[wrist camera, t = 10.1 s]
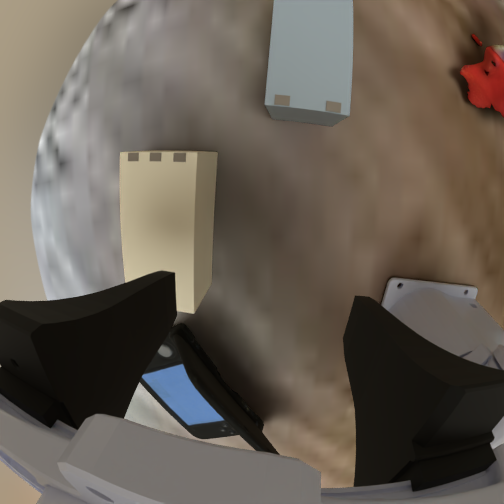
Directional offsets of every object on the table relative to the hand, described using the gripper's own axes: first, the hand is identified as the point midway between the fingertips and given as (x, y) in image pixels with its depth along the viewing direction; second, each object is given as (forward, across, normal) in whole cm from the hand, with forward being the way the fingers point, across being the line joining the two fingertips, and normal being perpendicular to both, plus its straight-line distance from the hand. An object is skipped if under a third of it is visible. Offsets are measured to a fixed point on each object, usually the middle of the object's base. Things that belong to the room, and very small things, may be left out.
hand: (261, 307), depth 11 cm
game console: (+10, +5, +16) cm, 20 cm away
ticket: (+10, +7, 0) cm, 12 cm away
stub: (+10, -1, -12) cm, 16 cm away
